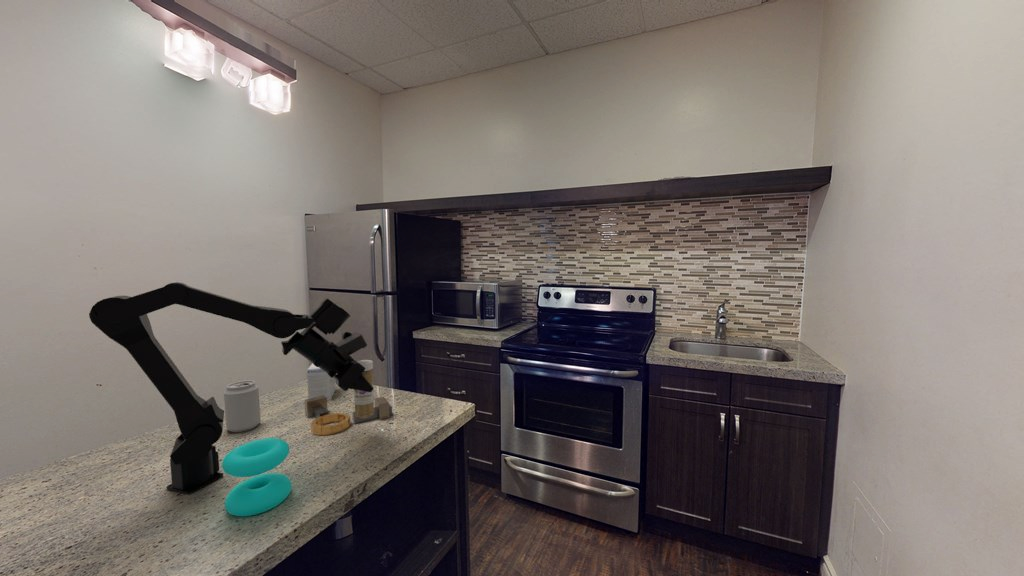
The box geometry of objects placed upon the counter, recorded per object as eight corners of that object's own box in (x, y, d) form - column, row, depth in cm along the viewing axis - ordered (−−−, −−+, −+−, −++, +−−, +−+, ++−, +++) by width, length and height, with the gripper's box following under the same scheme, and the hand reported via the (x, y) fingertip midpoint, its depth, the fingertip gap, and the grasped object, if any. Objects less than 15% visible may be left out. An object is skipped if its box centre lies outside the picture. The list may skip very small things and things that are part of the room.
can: (267, 421, 104) (264, 378, 103) (245, 434, 96) (242, 387, 95) (242, 421, 104) (239, 378, 104) (218, 433, 97) (215, 387, 96)
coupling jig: (354, 440, 92) (353, 422, 91) (275, 428, 99) (273, 412, 99) (396, 413, 108) (395, 397, 108) (325, 404, 115) (324, 390, 115)
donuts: (211, 452, 66) (272, 431, 75) (215, 507, 67) (276, 479, 75) (236, 468, 61) (299, 443, 69) (240, 528, 61) (302, 496, 70)
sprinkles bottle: (355, 420, 90) (353, 364, 89) (353, 413, 94) (351, 360, 93) (375, 416, 92) (374, 362, 91) (373, 410, 96) (371, 358, 95)
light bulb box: (314, 392, 128) (312, 360, 127) (336, 389, 130) (334, 358, 129) (307, 403, 117) (305, 369, 117) (331, 400, 119) (329, 366, 119)
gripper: (353, 327, 82) (404, 369, 89) (335, 318, 97) (380, 354, 104) (314, 369, 78) (371, 410, 85) (302, 353, 93) (351, 388, 100)
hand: (369, 387), depth 94 cm, fingers closed on sprinkles bottle, 4 cm apart
